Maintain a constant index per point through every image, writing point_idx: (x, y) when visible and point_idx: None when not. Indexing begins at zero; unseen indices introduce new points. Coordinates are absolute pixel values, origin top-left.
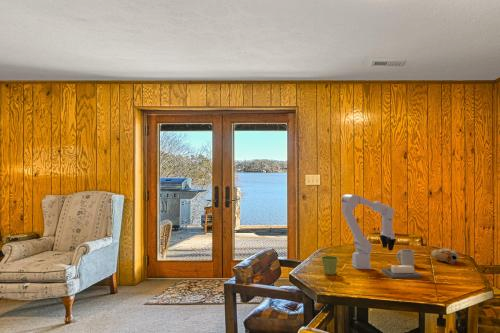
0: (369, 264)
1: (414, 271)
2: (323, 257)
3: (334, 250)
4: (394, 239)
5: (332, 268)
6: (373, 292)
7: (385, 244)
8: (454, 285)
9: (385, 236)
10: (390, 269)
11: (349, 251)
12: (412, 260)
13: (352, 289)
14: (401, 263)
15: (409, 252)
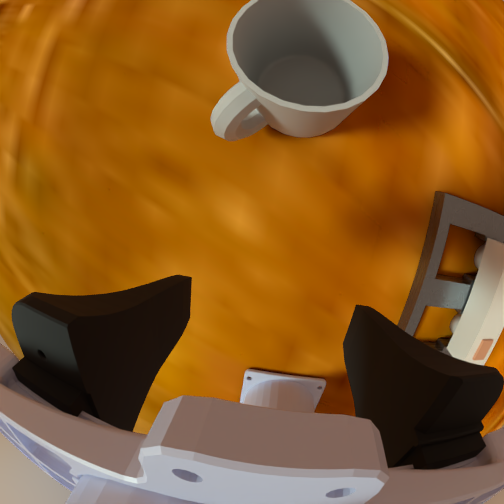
0: (308, 401)
1: (493, 217)
2: None
3: (8, 322)
4: (486, 413)
5: None
6: (483, 430)
7: (171, 313)
8: None
9: (99, 399)
10: (415, 327)
11: (5, 275)
12: (358, 70)
13: None
14: (291, 134)
15: (385, 71)
